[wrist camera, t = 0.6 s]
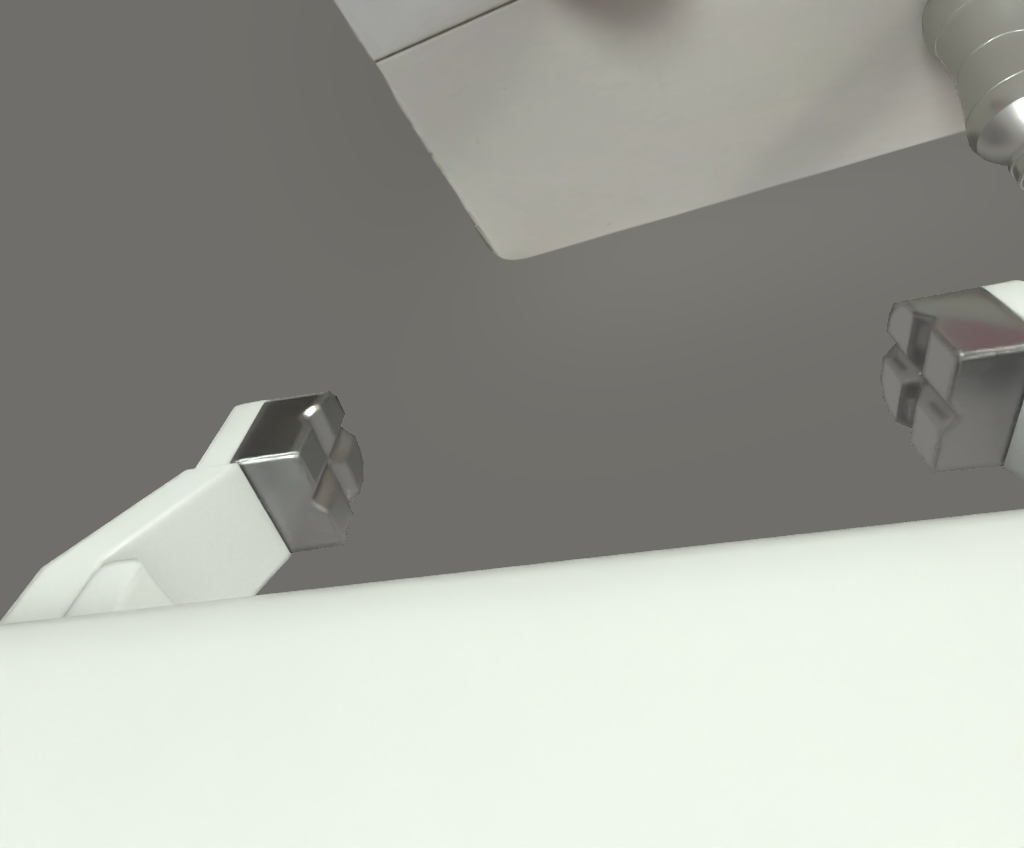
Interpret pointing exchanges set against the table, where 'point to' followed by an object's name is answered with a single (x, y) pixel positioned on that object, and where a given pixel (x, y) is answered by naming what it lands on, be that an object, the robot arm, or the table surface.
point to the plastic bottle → (984, 72)
